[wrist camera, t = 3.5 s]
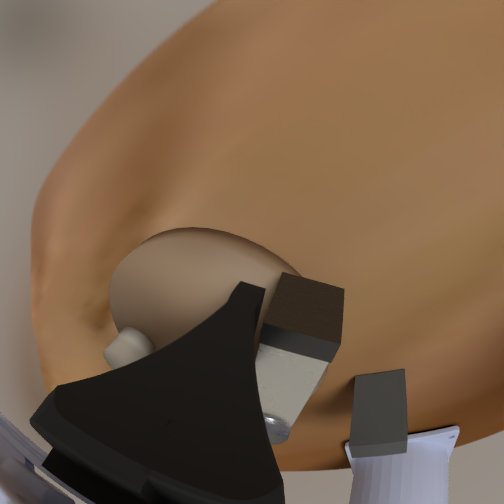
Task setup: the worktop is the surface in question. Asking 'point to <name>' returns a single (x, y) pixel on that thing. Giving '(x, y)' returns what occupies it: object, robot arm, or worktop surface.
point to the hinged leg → (296, 348)
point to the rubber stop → (379, 415)
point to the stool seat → (184, 288)
